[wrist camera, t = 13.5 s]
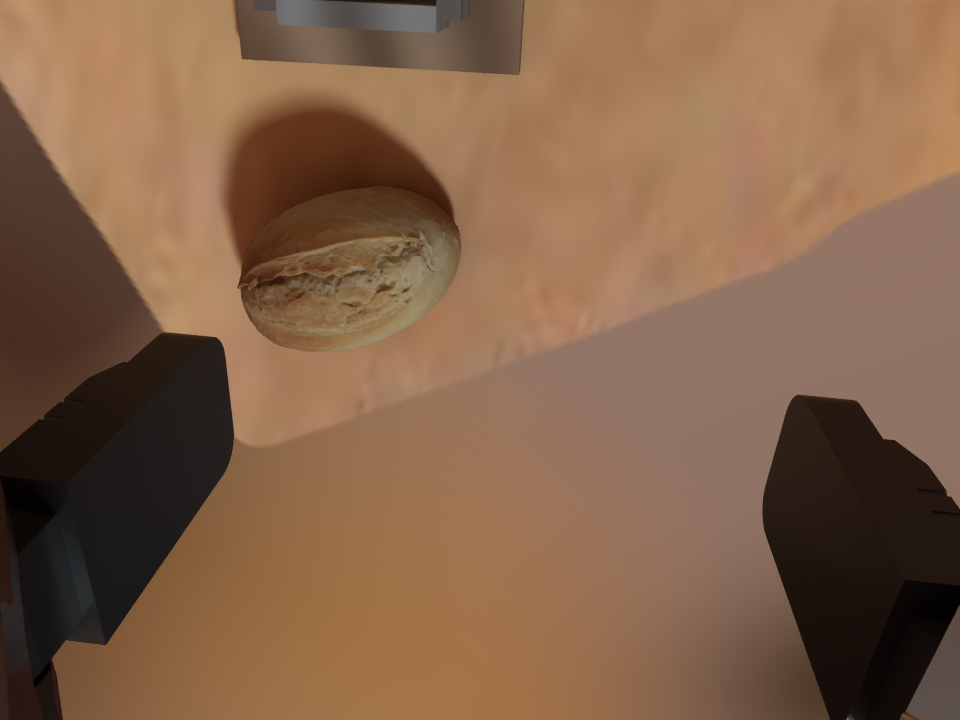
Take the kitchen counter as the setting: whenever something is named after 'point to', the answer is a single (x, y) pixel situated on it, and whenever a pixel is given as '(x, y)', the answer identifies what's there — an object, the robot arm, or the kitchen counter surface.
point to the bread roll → (348, 268)
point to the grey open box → (386, 33)
